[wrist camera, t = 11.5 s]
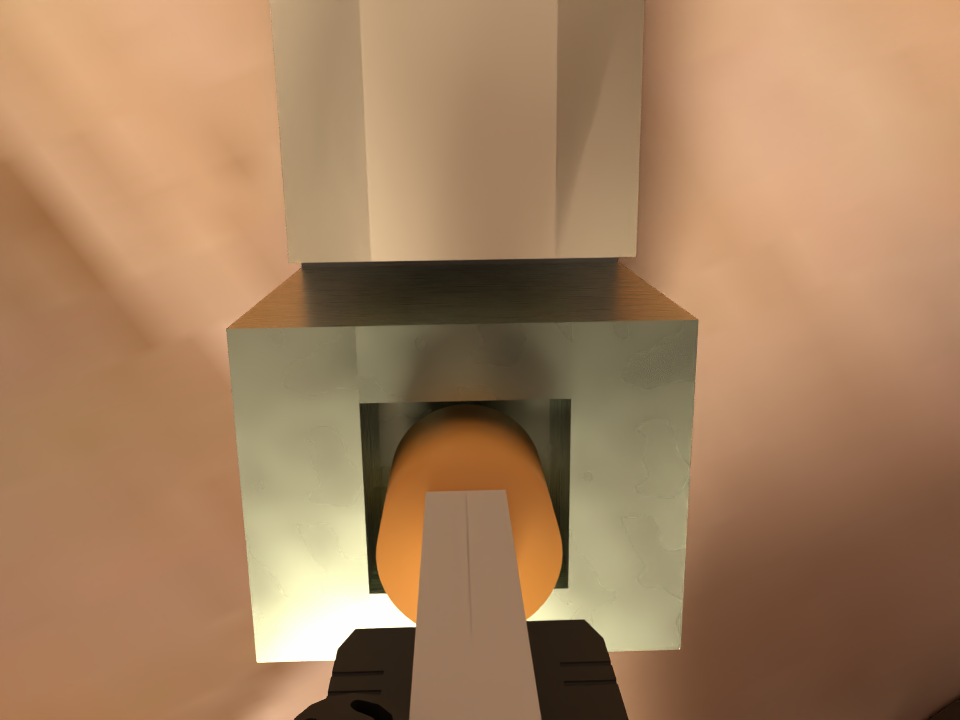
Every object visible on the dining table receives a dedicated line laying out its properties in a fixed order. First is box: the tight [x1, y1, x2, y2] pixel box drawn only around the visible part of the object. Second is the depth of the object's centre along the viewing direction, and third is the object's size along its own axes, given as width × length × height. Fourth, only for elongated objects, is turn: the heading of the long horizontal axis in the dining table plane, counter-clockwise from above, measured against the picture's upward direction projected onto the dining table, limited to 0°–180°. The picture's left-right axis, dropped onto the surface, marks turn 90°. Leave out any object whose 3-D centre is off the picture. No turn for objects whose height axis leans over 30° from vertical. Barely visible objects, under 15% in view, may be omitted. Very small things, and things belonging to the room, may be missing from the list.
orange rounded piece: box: [376, 404, 563, 624], centre depth 18 cm, size 4×4×4 cm
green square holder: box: [226, 262, 698, 662], centre depth 23 cm, size 10×8×10 cm
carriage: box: [270, 0, 645, 263], centre depth 20 cm, size 7×6×10 cm
